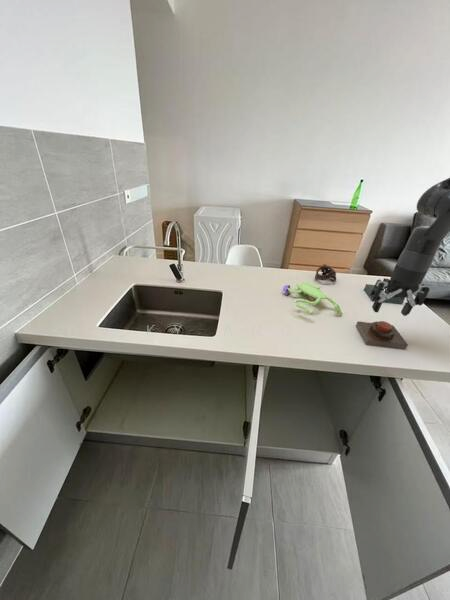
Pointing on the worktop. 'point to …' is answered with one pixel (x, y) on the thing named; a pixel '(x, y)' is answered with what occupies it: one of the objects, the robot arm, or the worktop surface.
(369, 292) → the panel
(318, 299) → the figurine
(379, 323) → the button
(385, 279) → the handle
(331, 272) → the dark brown dome
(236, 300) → the worktop surface
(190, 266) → the worktop surface
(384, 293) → the robot arm
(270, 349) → the worktop surface
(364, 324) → the button block
